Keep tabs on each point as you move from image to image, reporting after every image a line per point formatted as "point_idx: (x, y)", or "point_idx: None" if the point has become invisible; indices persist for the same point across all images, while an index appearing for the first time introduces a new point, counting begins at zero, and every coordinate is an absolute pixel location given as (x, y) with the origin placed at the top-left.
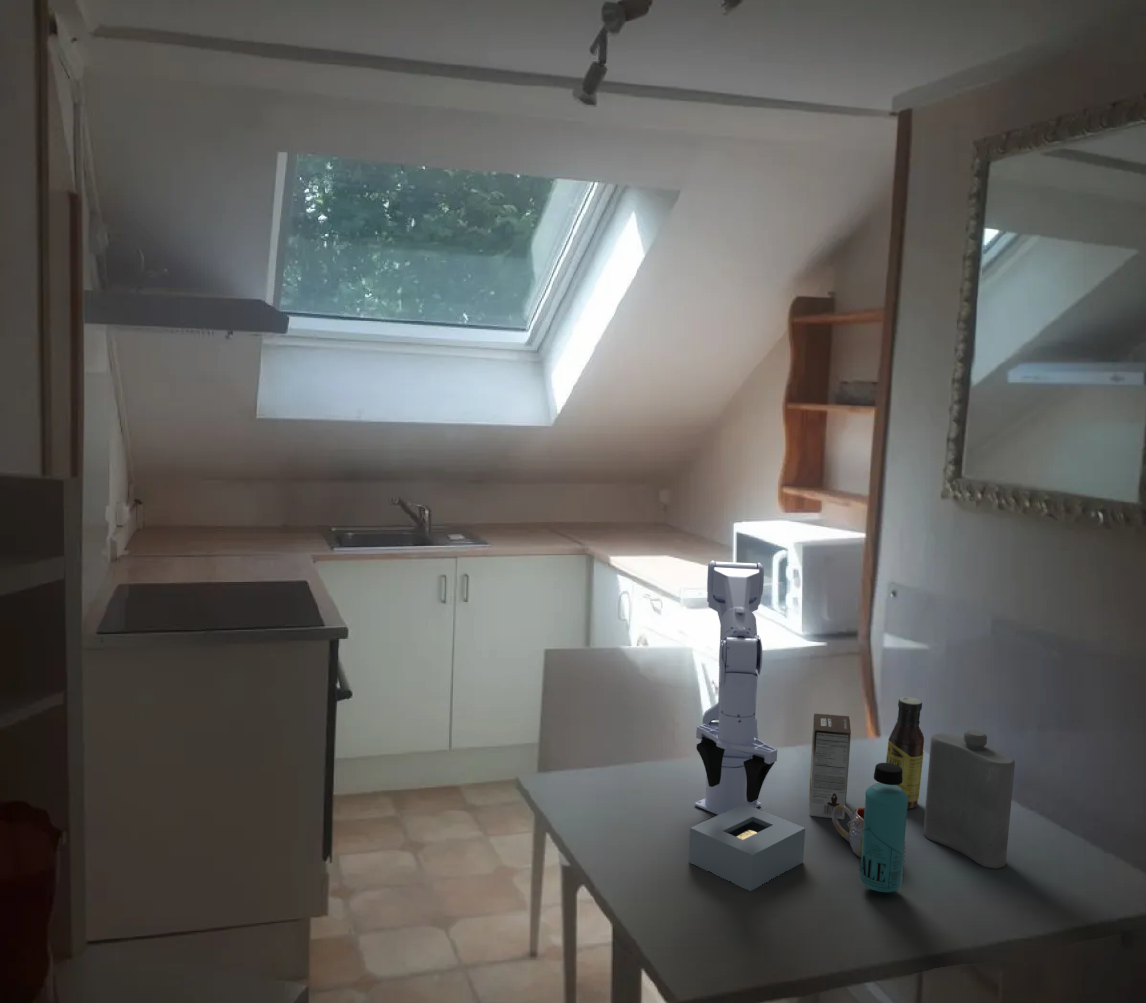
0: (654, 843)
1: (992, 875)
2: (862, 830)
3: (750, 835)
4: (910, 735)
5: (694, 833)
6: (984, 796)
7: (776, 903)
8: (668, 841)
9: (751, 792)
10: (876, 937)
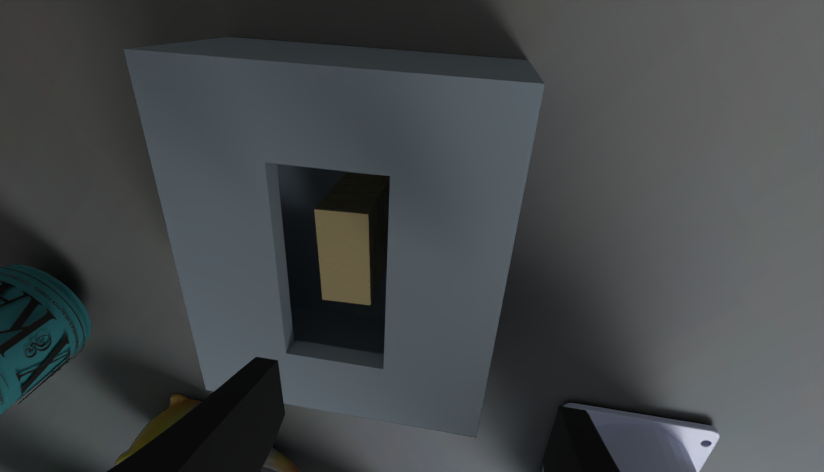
0: (745, 100)
1: (39, 456)
2: None
3: (335, 267)
4: None
5: (510, 77)
6: None
7: (128, 33)
8: (692, 158)
9: (200, 405)
10: None
